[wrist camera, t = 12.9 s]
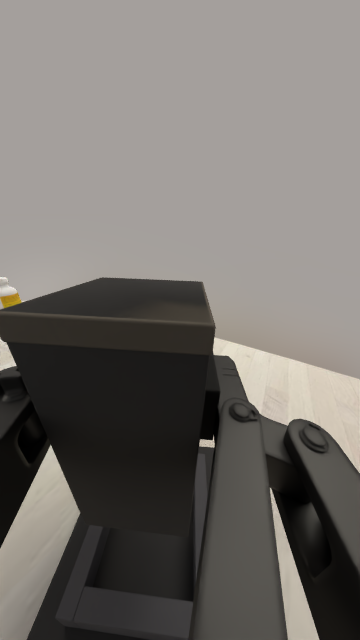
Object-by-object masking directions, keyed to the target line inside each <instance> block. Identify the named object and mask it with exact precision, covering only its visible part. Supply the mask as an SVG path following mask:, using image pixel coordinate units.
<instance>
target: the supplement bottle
mask: <svg viewBox="0 0 360 640" xmlns="http://www.w3.org/2000/svg"><path fill="white" fill-rule="evenodd" d="M19 303H21V300H20V297H19V295H18V292H17V290H16V289H15V288H13V287H10V286H9V285H8V279H7V278H6V277H0V309H3V308H6V307H10V306H13V305H16V304H19Z"/></svg>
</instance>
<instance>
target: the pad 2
mask: <svg viewBox="0 0 360 640" xmlns="http://www.w3.org/2000/svg"><path fill="white" fill-rule="evenodd" d="M213 453H214V448H210V447H199V450H198V459H197V467H196V476H195V484H194V492H193V501H192V509H191V518H190V526H189V535H188V537H181V536H173V535H165V534H157V533H149V532H141V531H133V530H125V529H117V528H109V527H101V526H93V525H86V524H85V522H84V520H83V517H82V515H81V513H80V516H79V518H78V520H77V523H76V525H75V527H74V530H73V532H72V534H71V537H70V539H69V542H68V544H67V546H66V549H65V551H64V553H63V556H62V558H61V560H60V563H59V565H58V567H57V570H56V572H55V574H54V577H53V579H52V582H51V584H50V586H49V589H48V591H47V593H46V596H45V598H44V600H43V603H42V605H41V607H40V610H39V612H38V614H37V617H36V619H35V622H34V624H33V626H32V629H31V631H30V633H29V636H28V638H27V640H188V637H189V630H190V622H191V615H192V608H193V600H194V593H195V586H196V578H197V571H198V564H199V556H200V549H201V542H202V534H203V527H204V519H205V512H206V505H207V497H208V490H209V483H210V475H211V468H212V459H213Z"/></svg>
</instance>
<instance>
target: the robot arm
mask: <svg viewBox="0 0 360 640" xmlns="http://www.w3.org/2000/svg"><path fill="white" fill-rule="evenodd" d="M213 435H214V441H215V447H214V453H213V459H212V468H211V475H210V483H209V490H208V497H207V505H206V512H205V519H204V527H203V534H202V542H201V549H200V556H199V564H198V571H197V578H196V586H195V593H194V600H193V608H192V615H191V622H190V630H189V637H188V640H288V638H287V629H286V621H285V613H284V604H283V596H282V588H281V579H280V571H279V563H278V554H277V546H276V538H275V529H274V521H273V513H272V504H271V496H270V488H272V491H273V494H274V498H275V501H276V504H277V507H278V510H279V513H280V517H281V520H282V523H283V526H284V529H285V532H286V535H287V539H288V542H289V545H290V548H291V551H292V554H293V557H294V561H295V564H296V567H297V570H298V573H299V576H300V579H301V583H302V586H303V589H304V592H305V595H306V598H307V602H308V605H309V608H310V611H311V614H312V617H313V620H314V624H315V627H316V630H317V633H318V636H319V639H320V640H360V473H359V472H358V471H357V469H356V468H355V467H354V465H353V464H352V463H351V461H350V460H349V458H348V457H347V456H346V454H345V453H344V452H343V450H342V449H341V447H340V446H339V445H338V443H337V442H336V441H335V440H334V439H333V438H332V436H331V435H330V434H329V433H328V432H326V431H325V430H324V429H322V428H321V427H320V426H318V425H316V424H314V423H312V422H310V421H307V420H303V419H294V420H292V421H291V422H290V423H289V425H288V426H287V425H284V424H281V423H278V422H276V421H273V420H270V419H268V418H266V417H264V416H262V415H261V414H259V411H258V410H257V409H256V408H255V406H254V405H252V404H251V403H250V402H249V401H248V399H247V396H246V393H245V390H244V388H243V385H242V382H241V379H240V377H239V374H238V371H237V368H236V366H235V363H234V361H233V360H232V359H231V358H230V357H229V356H218V355H213V352H212V354H211V355H210V357H209V366H208V374H207V383H206V391H205V399H204V408H203V416H202V425H201V433H200V439H205V440H213ZM50 445H51V444H50V441H49V439H48V437H47V434H46V432H45V430H44V428H43V425H42V423H41V421H40V418H39V416H38V414H37V411H36V409H35V407H34V405H33V402H32V400H31V398H30V395H29V393H28V391H27V388H26V386H25V384H24V381H23V379H22V377H21V375H20V372H19V370H18V368H17V366H14V367H10V368H7V369H4V370H2V371H0V548H1V546H2V544H3V542H4V539H5V537H6V535H7V533H8V531H9V529H10V527H11V525H12V523H13V521H14V519H15V517H16V515H17V513H18V511H19V509H20V507H21V504H22V502H23V500H24V498H25V496H26V494H27V492H28V490H29V488H30V486H31V484H32V482H33V480H34V478H35V476H36V474H37V472H38V470H39V467H40V465H41V463H42V461H43V459H44V457H45V455H46V453H47V451H48V449H49V447H50ZM269 487H270V488H269Z"/></svg>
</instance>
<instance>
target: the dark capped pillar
mask: <svg viewBox="0 0 360 640" xmlns="http://www.w3.org/2000/svg"><path fill="white" fill-rule="evenodd" d="M215 328H216V327H215V323H214V320H213V316H212V313H211V310H210V306H209V303H208V299H207V296H206V292H205V289H204V285H203V282H196V281H195V282H194V281H172V280H171V281H170V280H149V279H125V278H99V279H96V280H93V281H89V282H86V283H83V284H80V285H77V286H74V287H70V288H67V289H64V290H61V291H57V292H54V293H51V294H48V295H45V296H42V297H38V298H35V299H32V300H29V301H26V302H22V303H19V304H16V305H13V306H10V307H6V308H3V309H0V337H1V339H2V341H4V342H7V345H8V347H9V349H10V352H11V354H12V356H13V358H14V361H15V363H16V365H17V368H18V370H19V372H20V375H21V377H22V379H23V381H24V384H25V386H26V388H27V391H28V393H29V395H30V398H31V400H32V402H33V405H34V407H35V409H36V411H37V414H38V416H39V418H40V421H41V423H42V425H43V428H44V430H45V432H46V434H47V437H48V439H49V441H50V444H51V446H52V448H53V451H54V453H55V455H56V457H57V460H58V462H59V464H60V467H61V469H62V471H63V474H64V476H65V478H66V481H67V483H68V485H69V487H70V490H71V492H72V494H73V497H74V499H75V501H76V504H77V506H78V508H79V510H80V513H81V515H82V517H83V520H84V522H85V524H86V525H93V526H101V527H109V528H117V529H125V530H133V531H141V532H149V533H157V534H165V535H173V536H181V537H188V535H189V526H190V518H191V509H192V501H193V492H194V484H195V476H196V467H197V459H198V450H199V442H200V433H201V425H202V416H203V408H204V399H205V391H206V383H207V374H208V366H209V357H210V355H211V354H212V352H213V344H214V336H215Z"/></svg>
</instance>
